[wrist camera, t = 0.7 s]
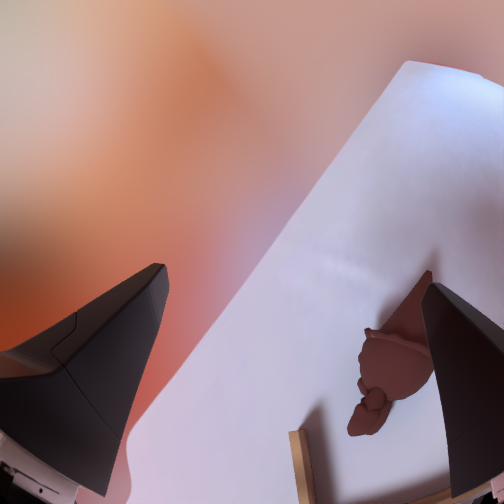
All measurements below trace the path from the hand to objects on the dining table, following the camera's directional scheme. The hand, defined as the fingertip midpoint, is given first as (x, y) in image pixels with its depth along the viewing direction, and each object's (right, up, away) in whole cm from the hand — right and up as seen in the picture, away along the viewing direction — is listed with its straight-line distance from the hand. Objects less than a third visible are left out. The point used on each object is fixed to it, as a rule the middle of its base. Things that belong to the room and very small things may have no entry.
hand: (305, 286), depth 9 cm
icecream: (+11, -9, +14) cm, 20 cm away
